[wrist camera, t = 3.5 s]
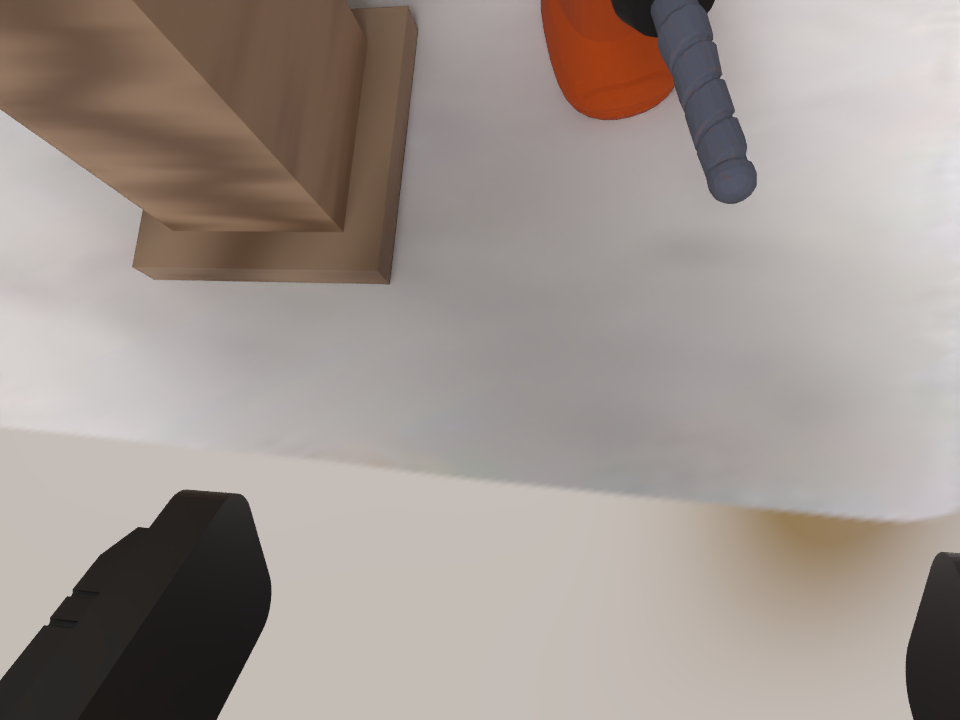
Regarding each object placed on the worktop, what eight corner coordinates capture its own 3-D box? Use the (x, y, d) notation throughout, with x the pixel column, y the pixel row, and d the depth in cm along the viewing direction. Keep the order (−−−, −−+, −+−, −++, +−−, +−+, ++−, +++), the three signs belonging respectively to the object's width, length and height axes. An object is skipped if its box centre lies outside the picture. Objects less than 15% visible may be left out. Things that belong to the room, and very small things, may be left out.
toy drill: (636, 410, 27) (601, 141, 14) (532, -10, 34) (439, -463, 21) (787, 377, 27) (910, 59, 13) (648, -45, 34) (632, -536, 20)
